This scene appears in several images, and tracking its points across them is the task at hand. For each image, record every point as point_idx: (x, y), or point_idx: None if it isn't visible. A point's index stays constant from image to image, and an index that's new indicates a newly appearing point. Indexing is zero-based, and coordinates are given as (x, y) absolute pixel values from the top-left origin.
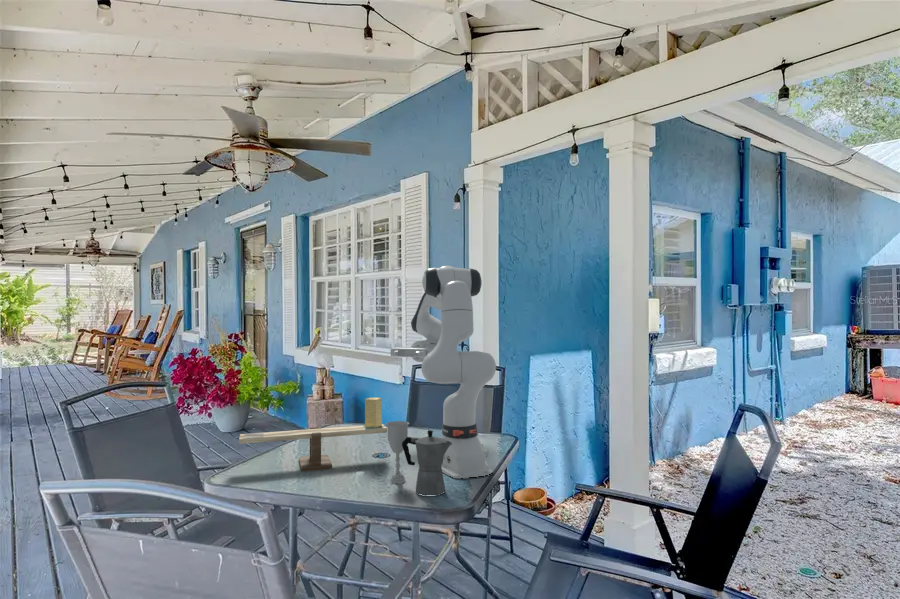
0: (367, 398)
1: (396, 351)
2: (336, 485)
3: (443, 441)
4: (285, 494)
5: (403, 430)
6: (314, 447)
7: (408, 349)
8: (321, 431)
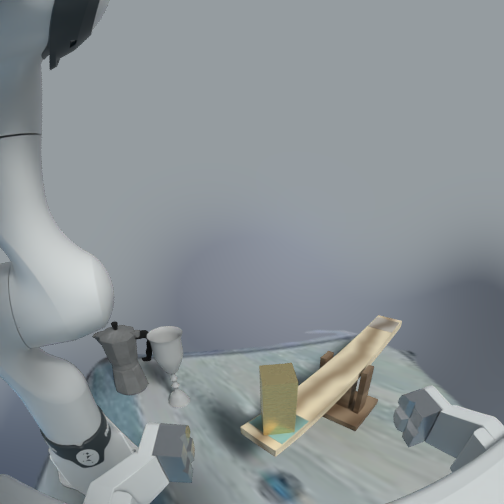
0: (293, 369)
1: (415, 391)
2: (246, 373)
3: (101, 331)
4: (277, 346)
5: (154, 338)
6: None
7: (396, 501)
8: (335, 366)
